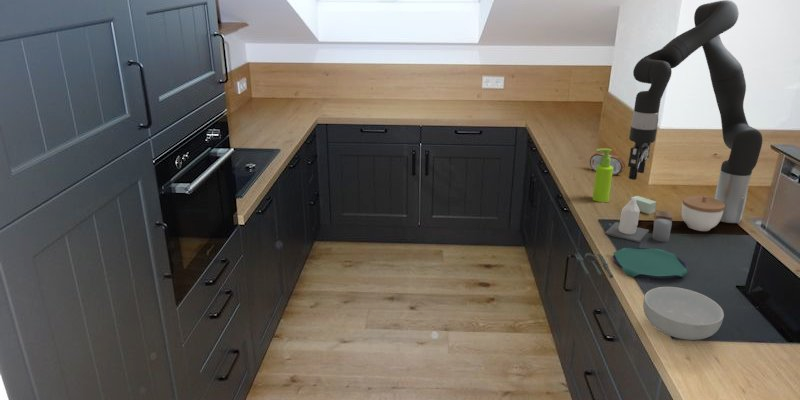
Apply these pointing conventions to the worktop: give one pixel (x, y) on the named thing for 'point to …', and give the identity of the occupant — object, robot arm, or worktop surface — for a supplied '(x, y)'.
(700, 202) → the lidded bowl
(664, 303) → the cereal bowl
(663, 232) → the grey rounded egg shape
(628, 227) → the white tall lump
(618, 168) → the tin
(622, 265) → the teal place setting
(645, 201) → the sage bar
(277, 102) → the worktop surface
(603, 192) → the soap dispenser
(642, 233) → the mat
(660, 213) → the walnut cube
